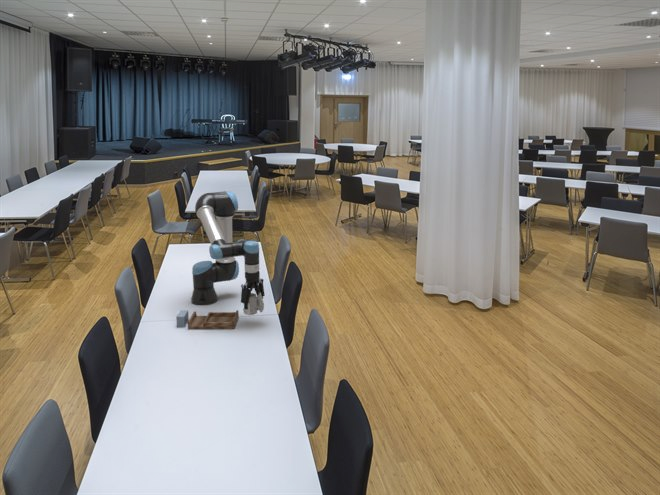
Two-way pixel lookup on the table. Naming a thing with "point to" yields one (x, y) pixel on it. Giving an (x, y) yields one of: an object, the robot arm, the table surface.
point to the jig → (214, 320)
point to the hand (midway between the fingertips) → (253, 312)
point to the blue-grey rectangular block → (182, 318)
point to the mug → (255, 304)
